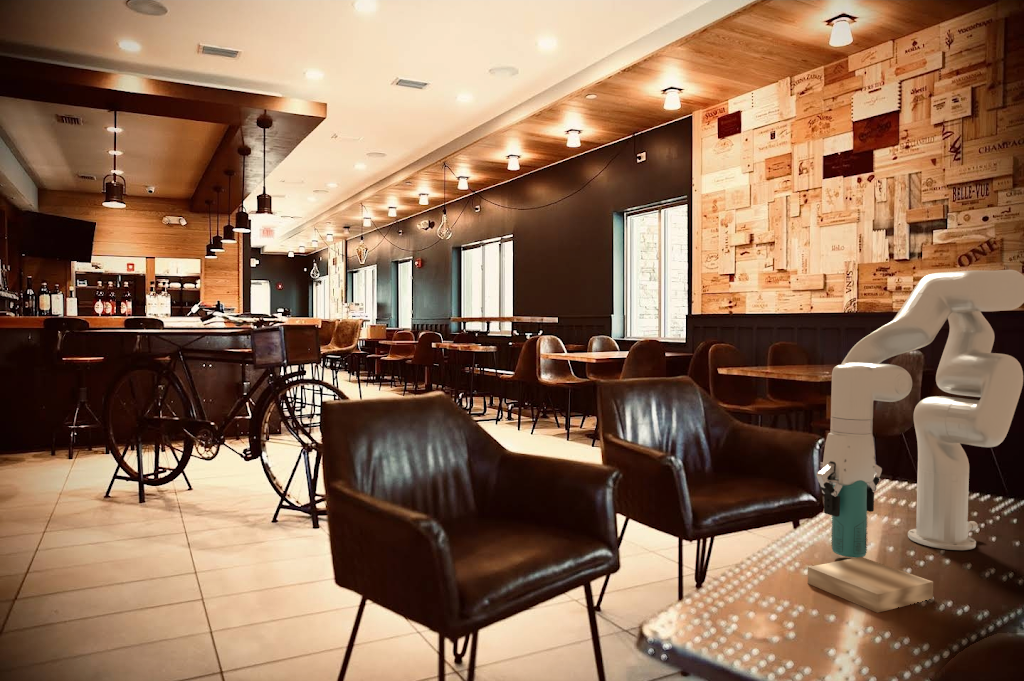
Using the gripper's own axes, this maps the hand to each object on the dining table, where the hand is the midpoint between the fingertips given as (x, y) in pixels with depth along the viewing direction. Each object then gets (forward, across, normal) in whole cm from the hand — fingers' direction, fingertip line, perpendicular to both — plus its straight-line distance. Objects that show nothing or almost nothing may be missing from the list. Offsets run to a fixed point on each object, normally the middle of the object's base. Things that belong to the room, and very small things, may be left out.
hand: (848, 512), depth 139 cm
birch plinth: (+10, +11, +13) cm, 19 cm away
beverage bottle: (+10, 0, 0) cm, 10 cm away
